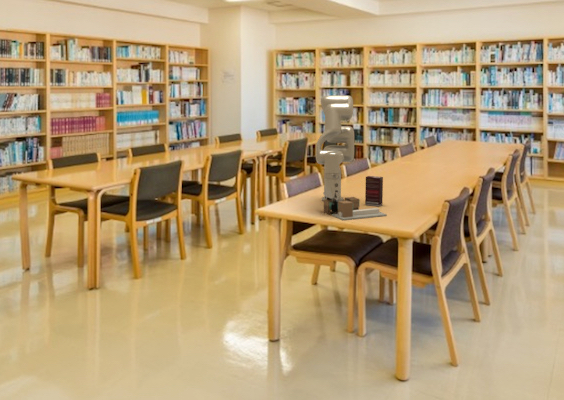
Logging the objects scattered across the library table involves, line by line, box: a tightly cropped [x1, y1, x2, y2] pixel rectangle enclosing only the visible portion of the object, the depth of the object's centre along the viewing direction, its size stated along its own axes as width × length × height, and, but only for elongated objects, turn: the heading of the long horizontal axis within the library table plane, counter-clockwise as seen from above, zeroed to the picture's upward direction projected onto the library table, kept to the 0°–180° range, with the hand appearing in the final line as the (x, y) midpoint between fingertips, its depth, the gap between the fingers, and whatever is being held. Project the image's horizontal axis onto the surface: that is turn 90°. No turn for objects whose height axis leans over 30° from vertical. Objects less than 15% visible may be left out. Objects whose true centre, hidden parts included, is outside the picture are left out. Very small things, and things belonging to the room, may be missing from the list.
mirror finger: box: [344, 196, 361, 210], centre depth 306 cm, size 6×6×7 cm
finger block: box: [323, 199, 338, 216], centre depth 301 cm, size 6×6×7 cm
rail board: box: [331, 200, 388, 221], centre depth 295 cm, size 12×25×8 cm, turn 113°
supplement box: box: [364, 175, 384, 207], centre depth 320 cm, size 9×5×16 cm, turn 59°
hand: (331, 210), depth 301 cm, fingers closed on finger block, 5 cm apart
